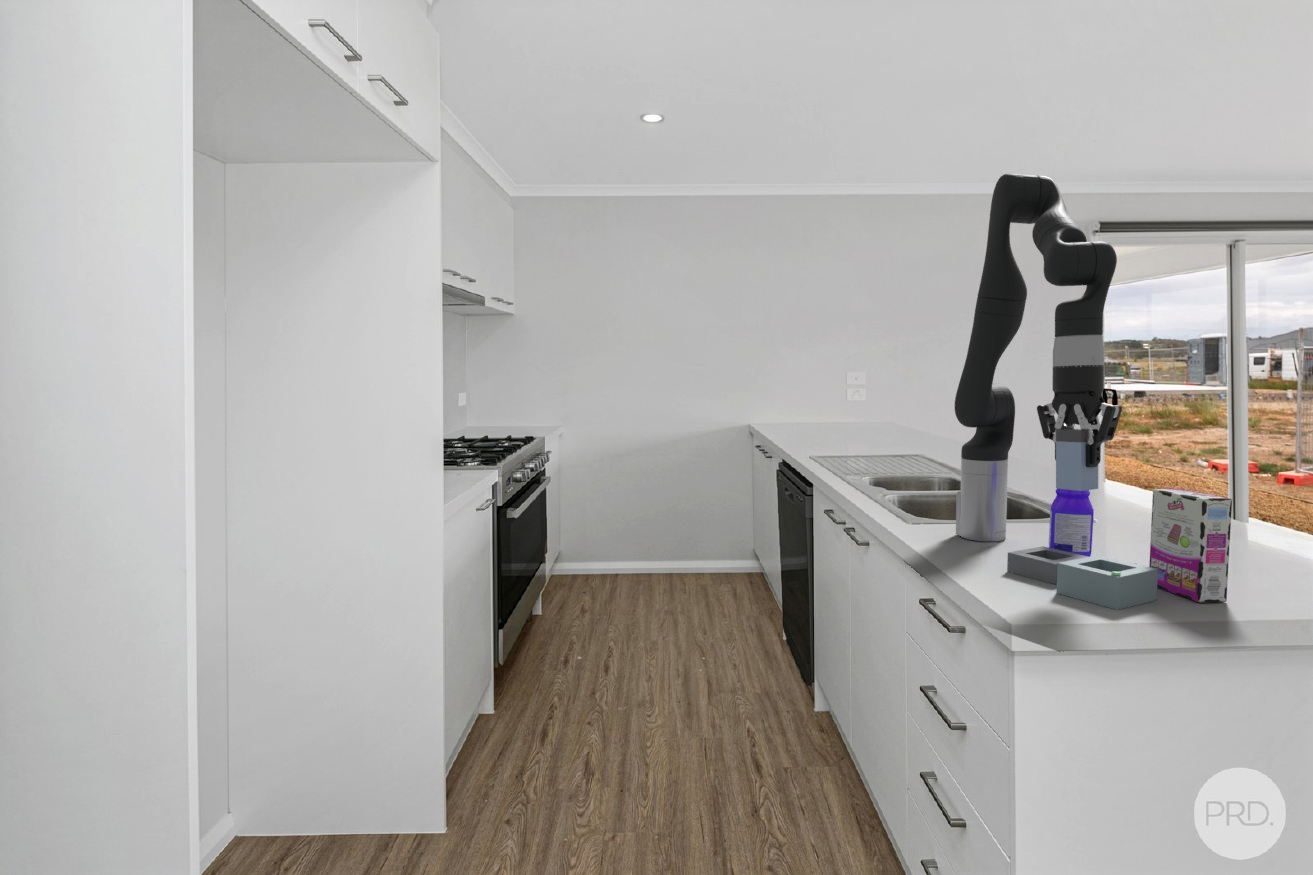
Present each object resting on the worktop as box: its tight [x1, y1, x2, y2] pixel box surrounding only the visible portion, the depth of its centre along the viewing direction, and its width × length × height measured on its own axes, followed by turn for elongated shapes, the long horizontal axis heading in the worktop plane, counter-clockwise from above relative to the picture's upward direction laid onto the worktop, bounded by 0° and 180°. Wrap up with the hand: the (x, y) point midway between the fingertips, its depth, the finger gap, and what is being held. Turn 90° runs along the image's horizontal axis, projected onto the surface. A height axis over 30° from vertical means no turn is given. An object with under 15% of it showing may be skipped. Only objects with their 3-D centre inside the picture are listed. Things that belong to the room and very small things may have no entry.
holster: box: [1006, 545, 1088, 585], centre depth 135 cm, size 10×10×4 cm
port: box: [1056, 555, 1158, 611], centre depth 121 cm, size 10×10×5 cm
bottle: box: [1048, 488, 1095, 557], centre depth 145 cm, size 7×6×17 cm
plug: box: [1055, 427, 1099, 491], centre depth 128 cm, size 4×4×10 cm
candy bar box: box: [1148, 488, 1233, 604], centre depth 122 cm, size 11×5×16 cm, turn 5°
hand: (1076, 465), depth 128 cm, fingers closed on plug, 4 cm apart
